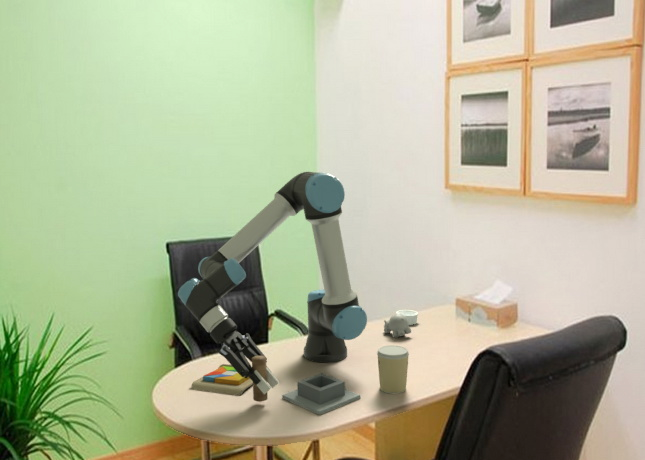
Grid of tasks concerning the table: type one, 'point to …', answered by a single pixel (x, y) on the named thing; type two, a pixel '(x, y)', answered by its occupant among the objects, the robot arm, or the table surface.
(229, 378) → the wooden puzzle
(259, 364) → the peg
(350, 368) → the table surface
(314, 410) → the socket
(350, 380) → the table surface
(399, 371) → the coffee cup
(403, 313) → the ramekin
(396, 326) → the toy rhinoceros
